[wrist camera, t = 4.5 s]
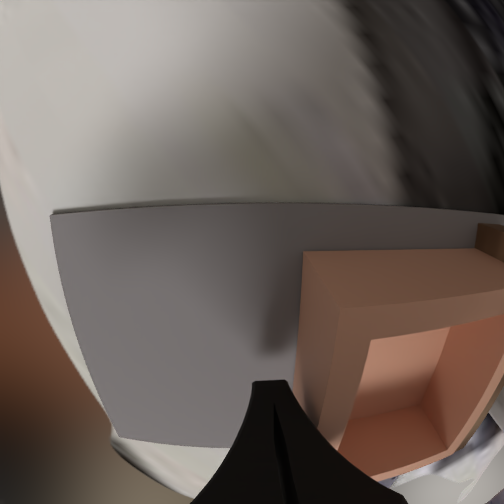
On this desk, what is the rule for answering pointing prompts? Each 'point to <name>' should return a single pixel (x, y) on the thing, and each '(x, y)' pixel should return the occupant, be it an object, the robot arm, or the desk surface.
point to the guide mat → (211, 300)
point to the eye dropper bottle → (498, 410)
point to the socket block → (398, 351)
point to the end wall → (500, 247)
